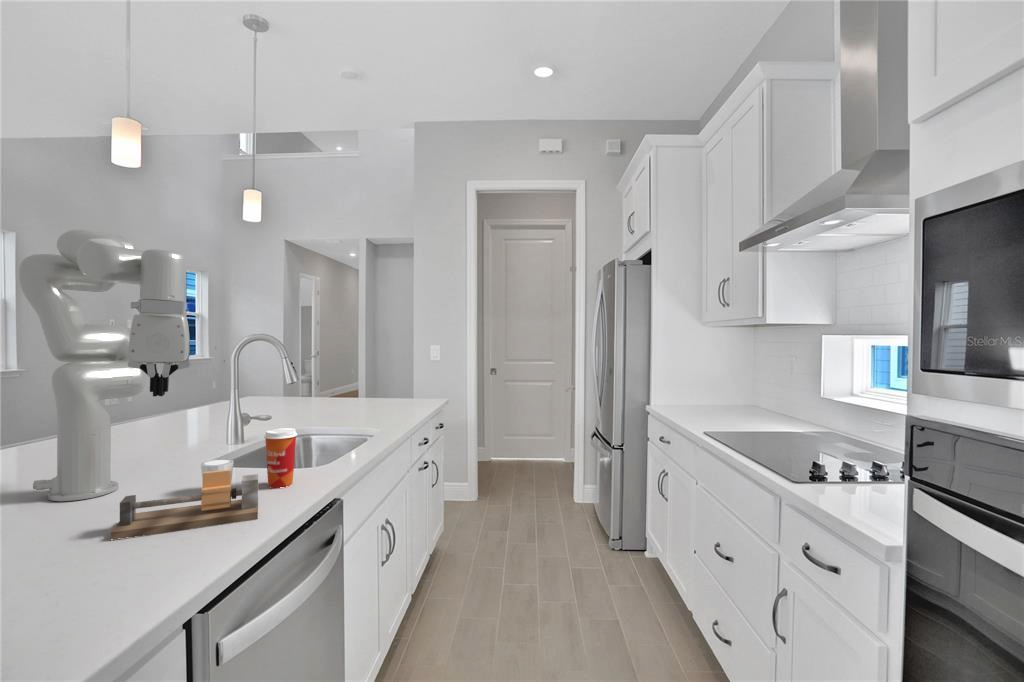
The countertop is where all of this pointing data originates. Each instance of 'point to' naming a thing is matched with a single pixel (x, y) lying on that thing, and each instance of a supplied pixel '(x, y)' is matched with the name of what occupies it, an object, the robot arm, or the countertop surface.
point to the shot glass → (217, 466)
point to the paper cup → (280, 456)
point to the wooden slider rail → (185, 512)
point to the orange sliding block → (216, 490)
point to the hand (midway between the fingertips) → (158, 395)
